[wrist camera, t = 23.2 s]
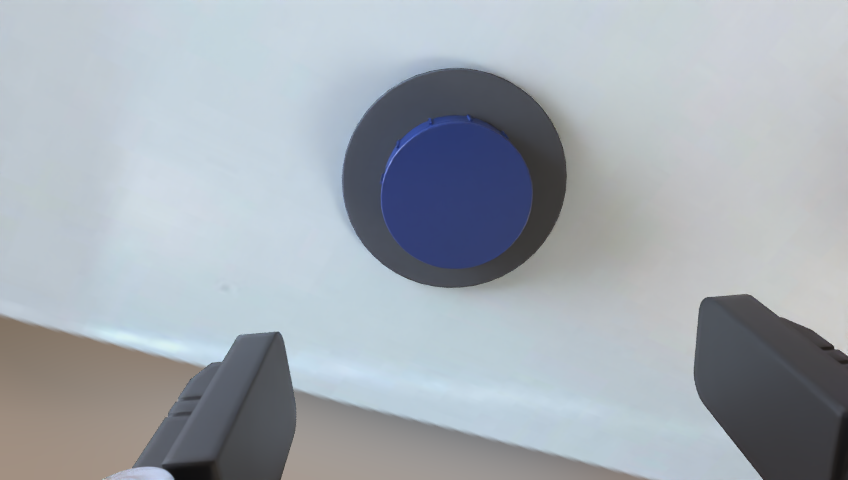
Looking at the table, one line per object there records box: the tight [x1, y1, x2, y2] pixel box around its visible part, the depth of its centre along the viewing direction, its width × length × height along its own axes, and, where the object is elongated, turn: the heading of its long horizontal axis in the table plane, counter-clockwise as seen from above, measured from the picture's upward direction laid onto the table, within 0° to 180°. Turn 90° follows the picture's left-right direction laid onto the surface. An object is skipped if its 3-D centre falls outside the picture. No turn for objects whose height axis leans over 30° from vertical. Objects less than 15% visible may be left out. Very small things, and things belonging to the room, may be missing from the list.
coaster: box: [342, 68, 567, 288], centre depth 23 cm, size 9×9×1 cm
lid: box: [380, 114, 533, 269], centre depth 22 cm, size 6×6×2 cm
